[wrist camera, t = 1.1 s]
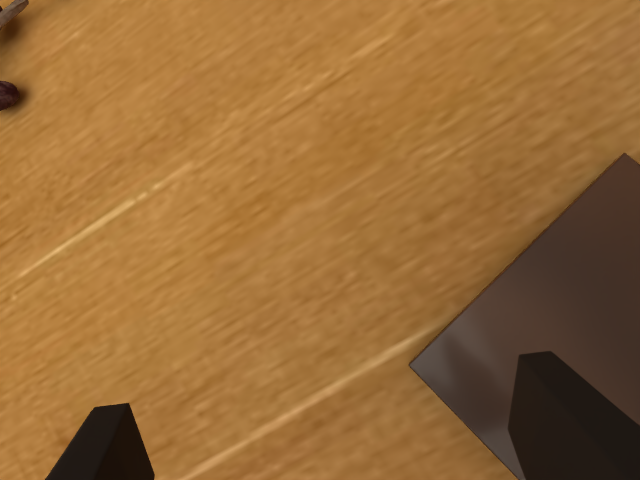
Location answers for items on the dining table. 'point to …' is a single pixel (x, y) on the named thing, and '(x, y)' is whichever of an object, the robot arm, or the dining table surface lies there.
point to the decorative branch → (3, 92)
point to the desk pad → (551, 314)
